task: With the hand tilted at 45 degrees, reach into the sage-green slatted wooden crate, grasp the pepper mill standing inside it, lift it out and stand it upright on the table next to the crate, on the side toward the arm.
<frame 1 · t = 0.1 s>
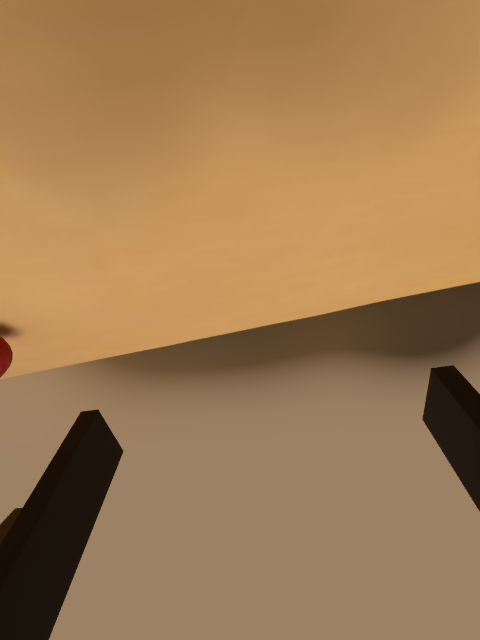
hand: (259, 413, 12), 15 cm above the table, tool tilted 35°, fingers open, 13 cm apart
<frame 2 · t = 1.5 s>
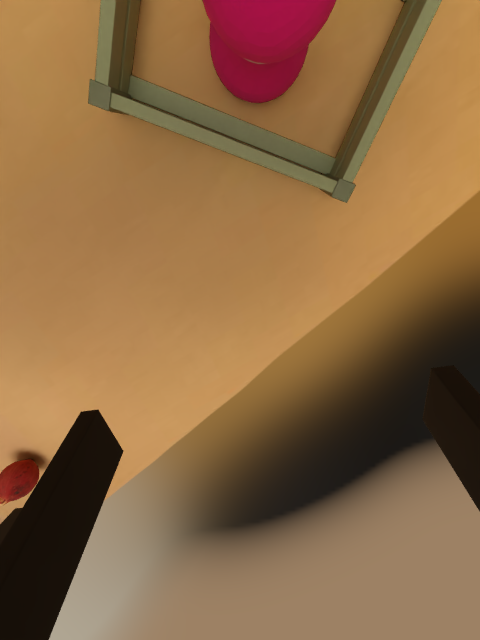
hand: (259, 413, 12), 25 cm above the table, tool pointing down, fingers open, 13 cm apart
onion: (32, 458, 56), on the table
pepper mill: (256, 56, 26), resting in crate
crate: (261, 40, 25), on the table
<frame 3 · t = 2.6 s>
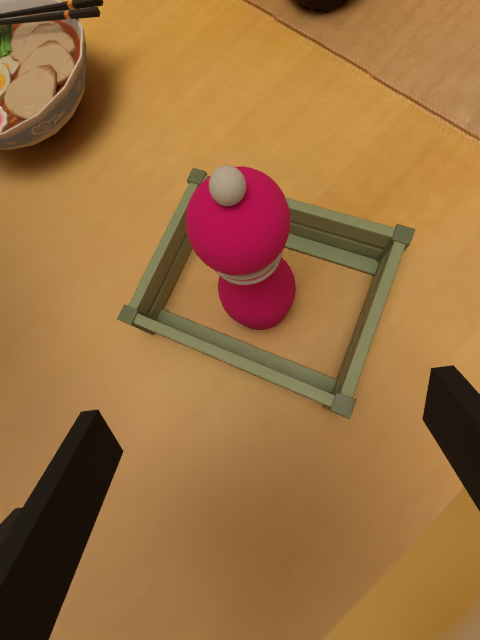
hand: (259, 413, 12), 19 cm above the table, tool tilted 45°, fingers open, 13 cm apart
ramen bowl: (45, 116, 44), on the table
pepper mill: (260, 302, 33), resting in crate
crate: (264, 293, 33), on the table
coffee grinder: (323, 2, 42), on the table
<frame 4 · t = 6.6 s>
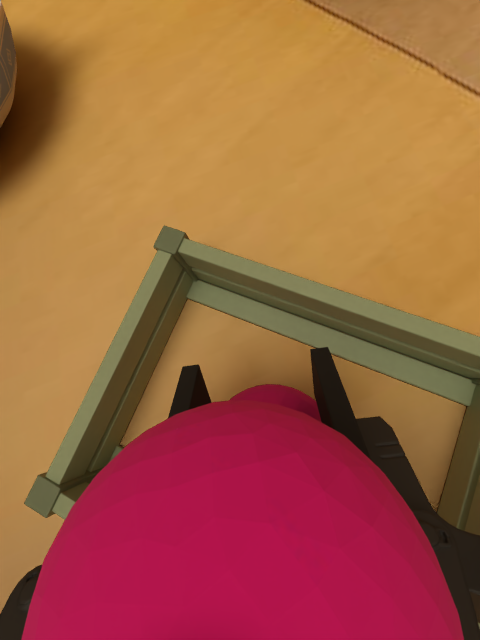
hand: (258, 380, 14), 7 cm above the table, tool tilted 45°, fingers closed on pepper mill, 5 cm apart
pepper mill: (275, 441, 20), resting in crate, touching gripper
crate: (281, 426, 20), on the table
when the fingers open (7 cm above the table, at t = 15.3 s): pepper mill stays where it is, on the table.
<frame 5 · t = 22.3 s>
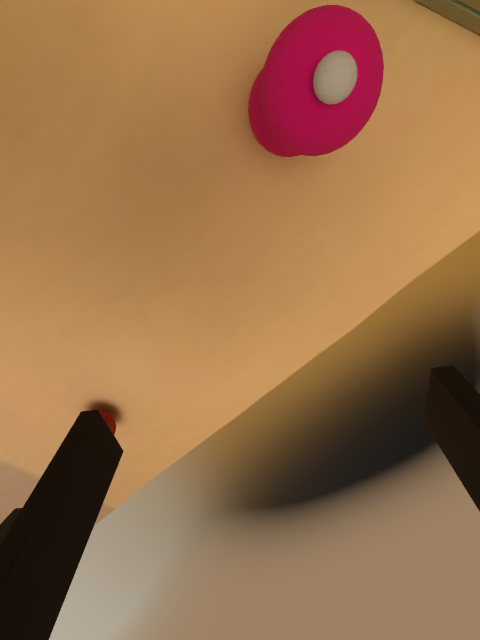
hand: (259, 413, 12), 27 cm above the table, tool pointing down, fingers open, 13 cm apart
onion: (105, 411, 51), on the table
pepper mill: (285, 111, 29), on the table
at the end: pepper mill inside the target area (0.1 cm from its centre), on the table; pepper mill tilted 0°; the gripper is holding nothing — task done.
